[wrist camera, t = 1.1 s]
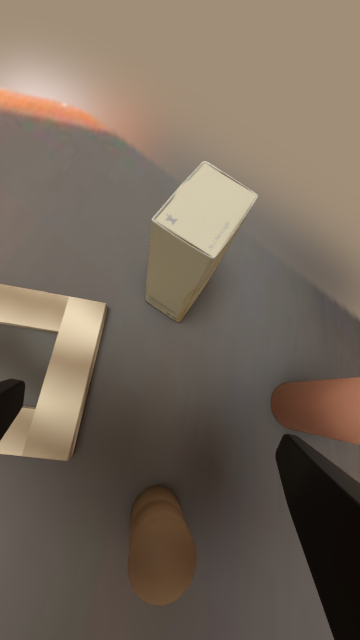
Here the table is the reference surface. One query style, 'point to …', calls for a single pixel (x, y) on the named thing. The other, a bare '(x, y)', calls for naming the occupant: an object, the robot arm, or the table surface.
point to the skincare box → (193, 237)
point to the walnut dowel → (159, 548)
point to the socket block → (48, 367)
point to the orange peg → (320, 407)
